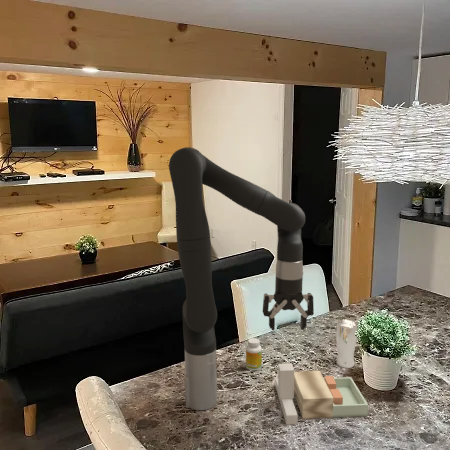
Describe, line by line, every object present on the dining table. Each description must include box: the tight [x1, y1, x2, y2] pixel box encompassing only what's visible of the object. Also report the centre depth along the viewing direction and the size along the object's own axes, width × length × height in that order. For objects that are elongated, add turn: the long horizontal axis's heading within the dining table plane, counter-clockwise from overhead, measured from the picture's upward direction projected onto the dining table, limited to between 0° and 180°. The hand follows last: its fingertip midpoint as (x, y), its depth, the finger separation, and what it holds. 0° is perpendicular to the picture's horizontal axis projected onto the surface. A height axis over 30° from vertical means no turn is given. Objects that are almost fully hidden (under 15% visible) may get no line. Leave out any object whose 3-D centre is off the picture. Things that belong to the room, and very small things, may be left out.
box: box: [323, 376, 369, 418], centre depth 136 cm, size 10×15×4 cm, turn 3°
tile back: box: [324, 375, 336, 390], centre depth 139 cm, size 4×4×2 cm
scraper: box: [274, 363, 299, 426], centre depth 134 cm, size 4×20×12 cm, turn 3°
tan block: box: [294, 370, 334, 420], centre depth 135 cm, size 8×15×6 cm, turn 3°
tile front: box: [330, 389, 343, 405], centre depth 132 cm, size 4×4×2 cm
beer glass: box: [335, 319, 358, 369], centre depth 157 cm, size 7×7×15 cm
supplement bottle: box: [245, 337, 263, 371], centre depth 156 cm, size 5×5×10 cm
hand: (287, 329), depth 130 cm, fingers open, 8 cm apart
